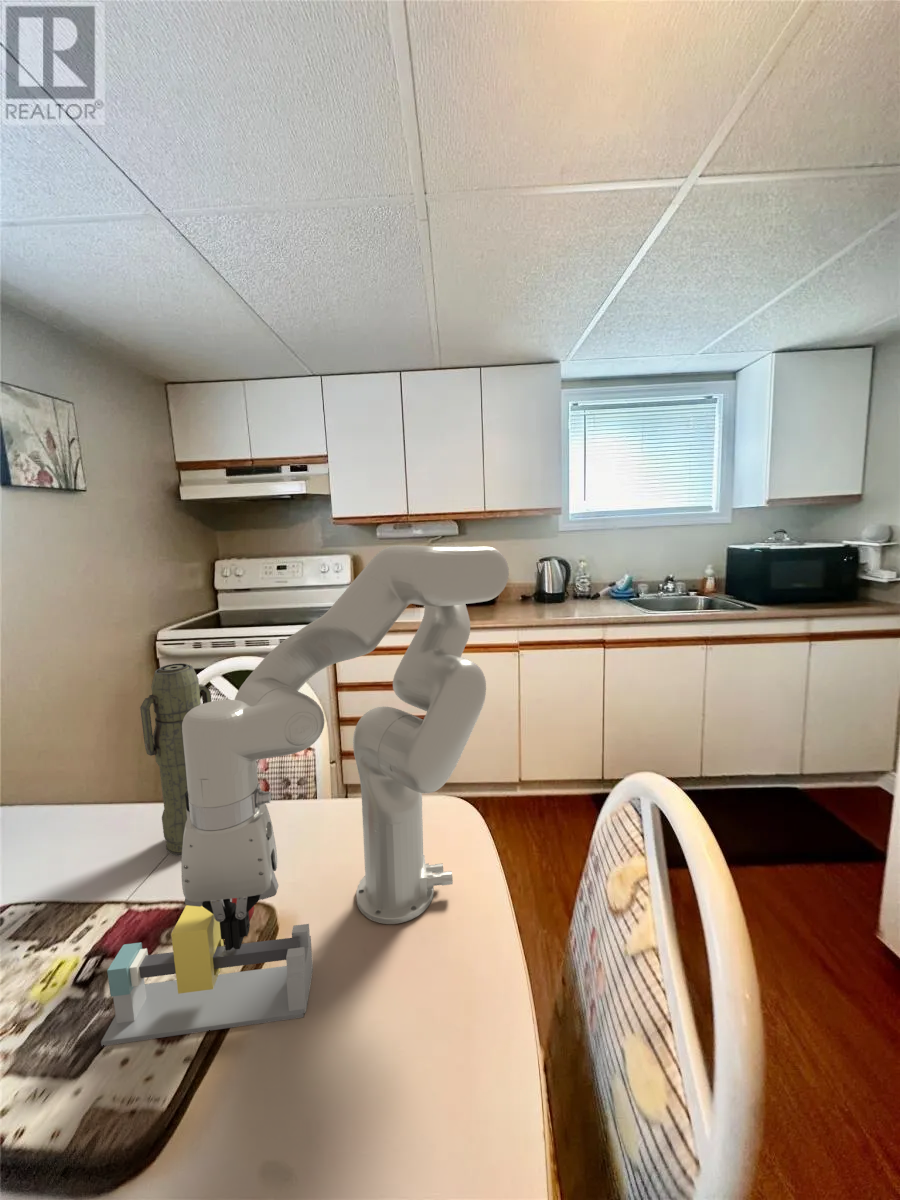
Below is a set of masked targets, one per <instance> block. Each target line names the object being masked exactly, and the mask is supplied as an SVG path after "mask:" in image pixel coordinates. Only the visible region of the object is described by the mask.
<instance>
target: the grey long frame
mask: <svg viewBox="0 0 900 1200" xmlns="http://www.w3.org/2000/svg"><path fill="white" fill-rule="evenodd" d="M280 961H286V965H282V966H275V967H268V968H259V969H252V970H244V971H236V972H229V973H221V974H220V973H219V975H218V977H217V980H216V983H215V985H214V988H213V989H210V990H203V991H195V992H188V993H180V994H178V988H177V979H173V980H166V981H160V982H159V981H158V982H151V983H145V979H146V978H153V977H162V976H168V975H169V976H170V975H176V971H175V962H174V953H173V951H172V952H171V951H169V952H162V953H156V954H155V953H154V954H149V953H148V948H143V943H142V942H133V943H126V944H123V945H122V946H121V948H120V950H119V951H118V952H117V954H116V956H115V958H114V959H113V960H112V962H111V964H110V965H109V967H108V968H107V971H106V972H107V978H108V986H109V993H110V997H111V998H112V999H113V1006H114V1013H115V1016H114V1018H113V1019H112V1021H111V1023H110V1025H109V1026H108V1028H107V1030H106V1032H105V1034H104V1035H103V1037H102V1039H101V1040H100V1044H101V1047H104V1046H105V1047H106V1046H111V1045H117V1044H125V1043H133V1042H139V1041H145V1040H153V1039H159V1038H166V1037H167V1038H168V1037H174V1036H175V1037H176V1036H181V1035H188V1034H194V1033H195V1034H196V1033H203V1032H210V1031H216V1030H223V1029H230V1028H231V1029H232V1028H236V1027H244V1026H251V1025H258V1024H264V1023H265V1024H266V1023H272V1022H273V1023H274V1022H279V1021H287V1020H293V1019H300V1018H304V1016H305V1014H306V1013H307V1007H308V1001H309V995H310V989H311V983H312V976H313V971H314V967H313V965H314V964H313V951H312V936H311V935H310V923H304V924H297V925H293V927H292V931H291V937H285V938H279V939H271V940H261V941H254V942H253V941H252V942H247V943H246V942H245V943H242V944H241V947H240V949H236V950H235V948H232V949H231V950H227V951H226V949H225V945H224V946H219V947H217V948H216V951H215V953H214V956H213V965H214V969H218V968H221V969H224V968H231V967H232V968H233V967H240V966H247V965H255V964H263V963H264V964H265V963H271V962H280ZM209 1030H210V1031H209ZM103 1045H104V1046H103Z"/></svg>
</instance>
